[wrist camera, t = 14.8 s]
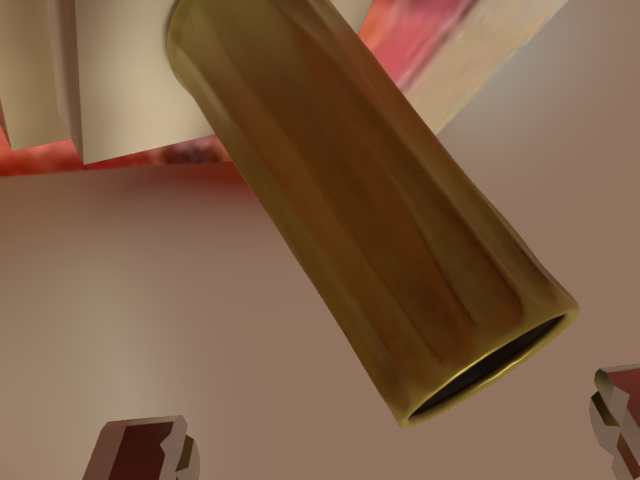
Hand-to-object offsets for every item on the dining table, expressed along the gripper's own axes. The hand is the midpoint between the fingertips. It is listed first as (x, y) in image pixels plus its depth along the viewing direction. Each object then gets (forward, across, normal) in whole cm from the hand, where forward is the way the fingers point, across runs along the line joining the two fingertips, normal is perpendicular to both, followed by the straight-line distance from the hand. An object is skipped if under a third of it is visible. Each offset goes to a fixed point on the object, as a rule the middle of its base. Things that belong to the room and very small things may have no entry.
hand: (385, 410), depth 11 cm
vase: (+14, -3, +5) cm, 15 cm away
